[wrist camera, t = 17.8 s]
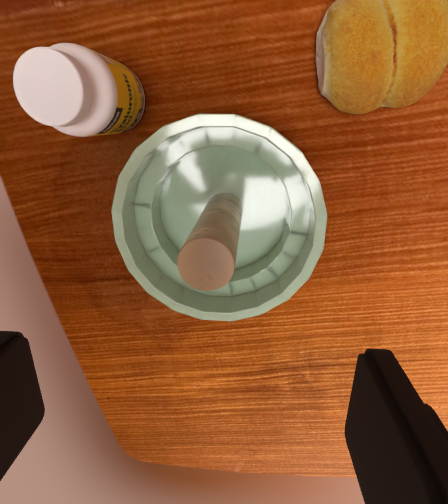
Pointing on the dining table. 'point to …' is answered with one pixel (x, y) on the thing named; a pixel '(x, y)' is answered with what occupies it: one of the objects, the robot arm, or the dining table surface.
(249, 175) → the bowl
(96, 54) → the supplement bottle
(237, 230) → the stirring stick
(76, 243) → the dining table surface
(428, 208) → the dining table surface
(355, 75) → the bread roll
